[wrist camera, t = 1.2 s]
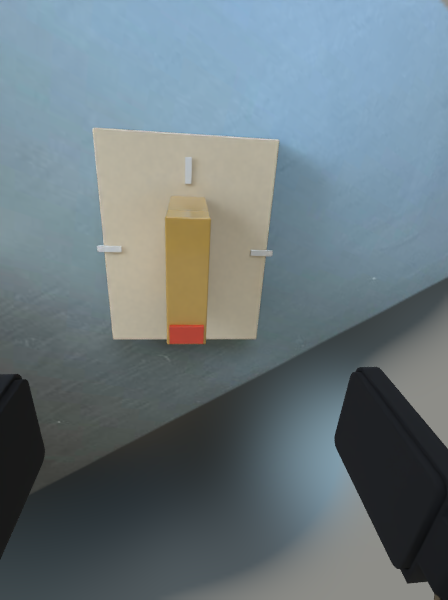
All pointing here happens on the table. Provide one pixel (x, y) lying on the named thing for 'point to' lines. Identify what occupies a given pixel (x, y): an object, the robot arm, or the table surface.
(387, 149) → the table surface
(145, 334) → the dial base plate
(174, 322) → the tan block
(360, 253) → the table surface
